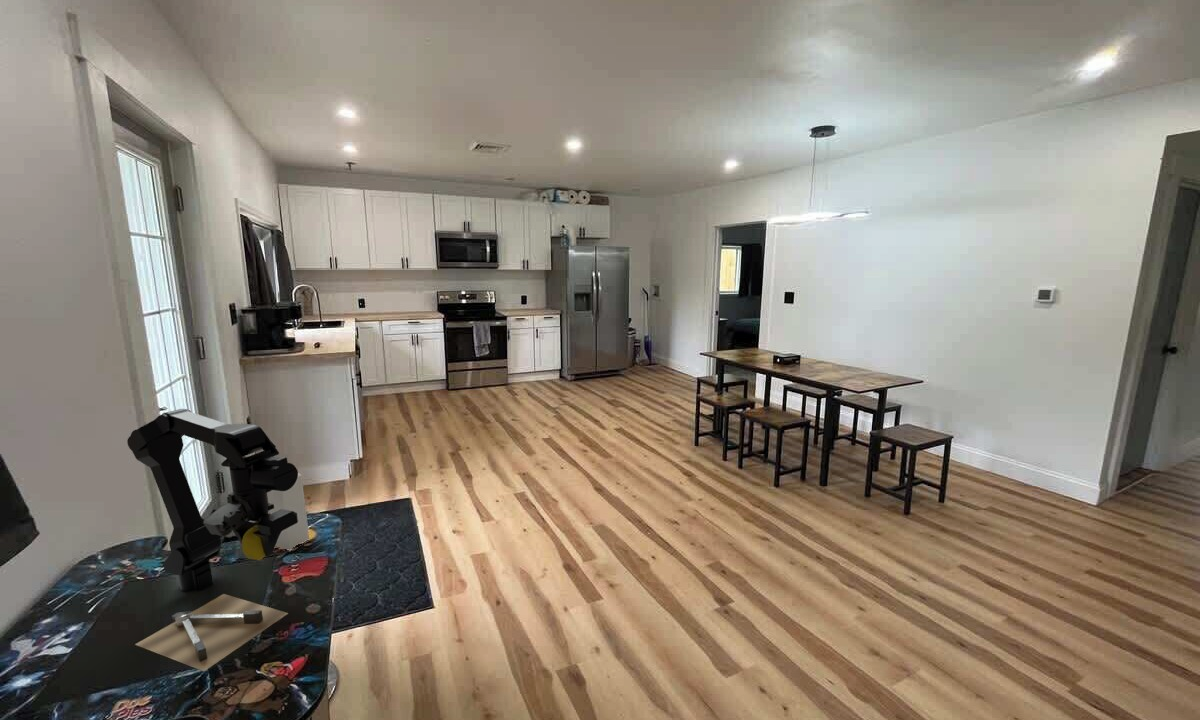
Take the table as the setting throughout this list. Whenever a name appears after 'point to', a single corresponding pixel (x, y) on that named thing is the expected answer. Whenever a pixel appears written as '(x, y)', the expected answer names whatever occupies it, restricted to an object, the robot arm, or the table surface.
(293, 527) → the milk
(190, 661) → the board
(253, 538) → the lemon
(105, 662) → the table surface
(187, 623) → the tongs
